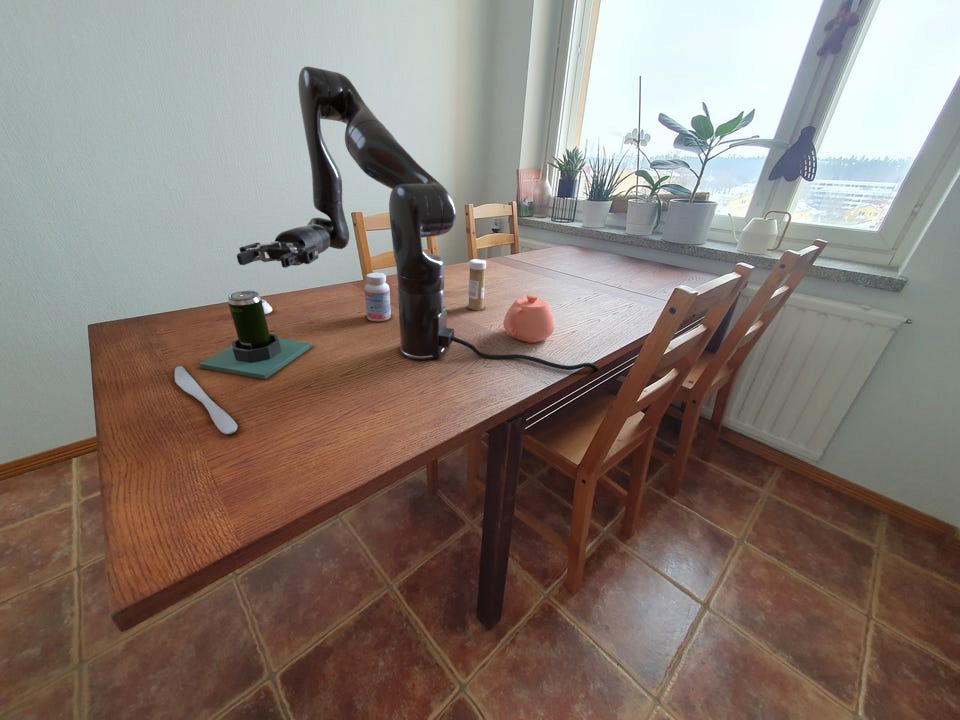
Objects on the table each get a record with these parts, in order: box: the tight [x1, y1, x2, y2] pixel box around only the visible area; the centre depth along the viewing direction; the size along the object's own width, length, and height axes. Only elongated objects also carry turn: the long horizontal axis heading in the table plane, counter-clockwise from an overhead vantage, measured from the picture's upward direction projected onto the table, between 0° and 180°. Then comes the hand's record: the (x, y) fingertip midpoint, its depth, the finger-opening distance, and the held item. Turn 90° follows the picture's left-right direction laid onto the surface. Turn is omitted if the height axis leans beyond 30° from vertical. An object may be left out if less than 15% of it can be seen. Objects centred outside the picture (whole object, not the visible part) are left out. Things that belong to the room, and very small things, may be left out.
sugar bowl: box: [502, 294, 555, 344], centre depth 89 cm, size 12×14×10 cm
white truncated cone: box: [261, 299, 273, 315], centre depth 95 cm, size 5×3×5 cm
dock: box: [198, 333, 312, 380], centre depth 75 cm, size 14×14×4 cm
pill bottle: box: [363, 272, 392, 322], centre depth 94 cm, size 6×6×11 cm
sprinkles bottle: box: [467, 258, 487, 311], centre depth 104 cm, size 5×5×13 cm
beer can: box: [227, 290, 272, 350], centre depth 72 cm, size 5×5×12 cm
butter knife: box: [174, 365, 238, 435], centre depth 62 cm, size 1×27×3 cm
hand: (261, 261), depth 73 cm, fingers open, 8 cm apart
